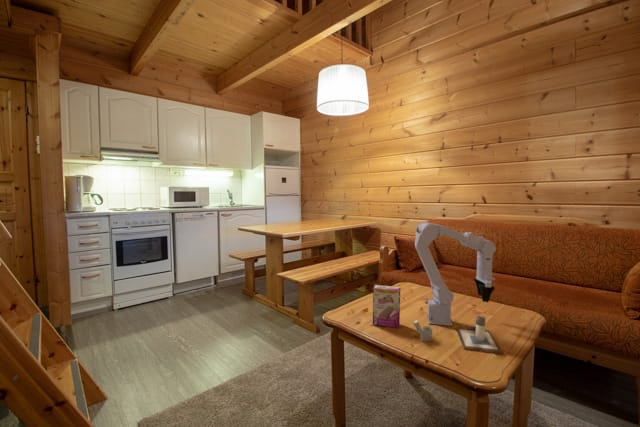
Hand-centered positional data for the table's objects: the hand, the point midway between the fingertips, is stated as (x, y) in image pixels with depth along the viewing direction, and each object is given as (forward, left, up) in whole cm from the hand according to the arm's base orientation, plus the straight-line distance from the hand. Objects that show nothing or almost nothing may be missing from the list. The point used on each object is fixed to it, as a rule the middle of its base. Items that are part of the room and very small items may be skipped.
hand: (483, 298), depth 128 cm
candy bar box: (-40, -13, -11) cm, 43 cm away
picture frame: (-6, -18, -10) cm, 22 cm away
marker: (-6, -20, -9) cm, 23 cm away
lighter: (-26, -23, -11) cm, 36 cm away
